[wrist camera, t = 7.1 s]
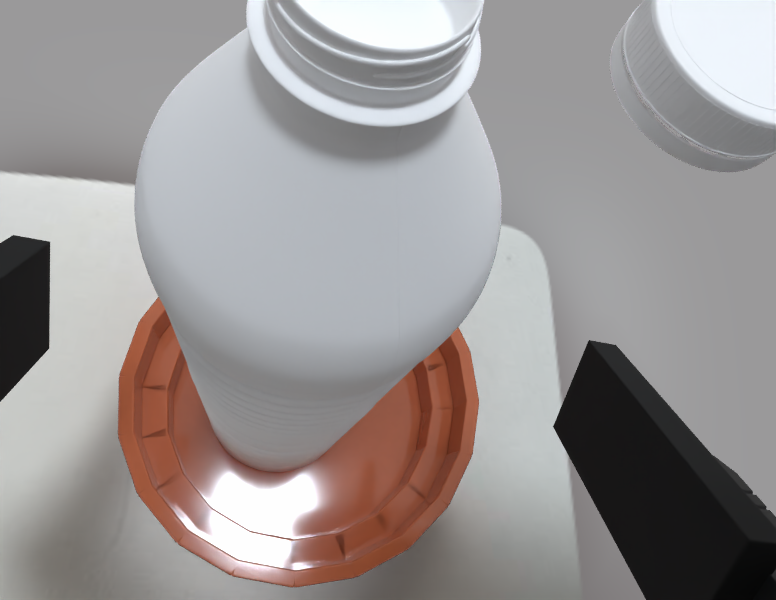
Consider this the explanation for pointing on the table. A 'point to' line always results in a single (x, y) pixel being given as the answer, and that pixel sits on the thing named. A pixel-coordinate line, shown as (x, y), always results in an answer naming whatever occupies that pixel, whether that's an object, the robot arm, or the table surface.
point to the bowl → (303, 485)
